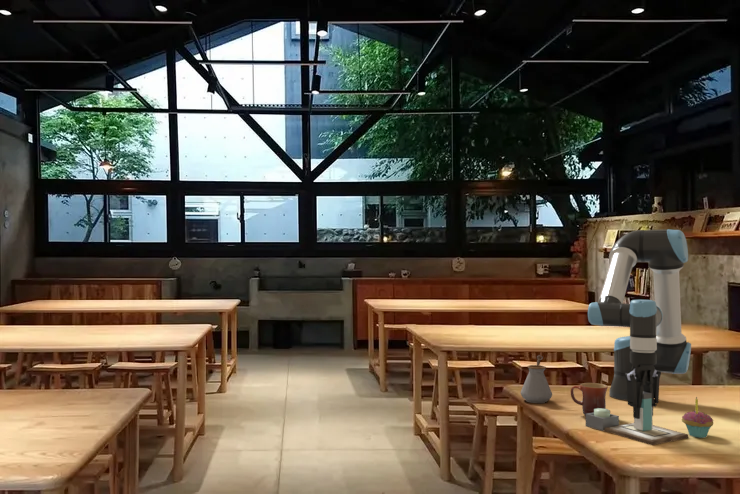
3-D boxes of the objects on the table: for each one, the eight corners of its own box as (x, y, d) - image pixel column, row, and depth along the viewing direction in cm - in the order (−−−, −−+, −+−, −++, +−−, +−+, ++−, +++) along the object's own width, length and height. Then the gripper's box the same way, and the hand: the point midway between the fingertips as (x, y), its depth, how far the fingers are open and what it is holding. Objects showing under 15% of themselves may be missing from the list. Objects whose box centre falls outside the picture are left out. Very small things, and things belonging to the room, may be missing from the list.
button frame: (601, 423, 211) (601, 411, 211) (618, 428, 204) (618, 416, 204) (585, 425, 207) (585, 413, 207) (603, 431, 201) (603, 418, 201)
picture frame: (640, 424, 209) (640, 420, 209) (688, 437, 194) (688, 433, 194) (604, 431, 201) (604, 426, 201) (651, 445, 186) (651, 440, 186)
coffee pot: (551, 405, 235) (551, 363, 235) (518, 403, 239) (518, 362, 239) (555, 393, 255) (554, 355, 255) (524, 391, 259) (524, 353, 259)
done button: (601, 418, 209) (601, 407, 209) (613, 422, 205) (613, 410, 205) (590, 420, 207) (590, 409, 207) (602, 423, 203) (602, 412, 203)
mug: (609, 414, 222) (609, 384, 222) (605, 420, 214) (605, 389, 214) (573, 410, 228) (573, 381, 228) (568, 416, 220) (568, 385, 220)
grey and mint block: (642, 427, 200) (642, 391, 200) (651, 429, 197) (651, 393, 197) (634, 428, 199) (634, 392, 199) (643, 431, 196) (643, 394, 196)
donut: (712, 441, 191) (711, 399, 191) (680, 436, 195) (679, 396, 195) (714, 434, 198) (714, 394, 198) (683, 430, 202) (683, 391, 203)
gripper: (651, 347, 205) (651, 422, 205) (614, 350, 198) (614, 428, 197) (671, 350, 199) (672, 427, 199) (634, 354, 191) (634, 434, 191)
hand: (643, 428), depth 198 cm, fingers closed on grey and mint block, 3 cm apart
